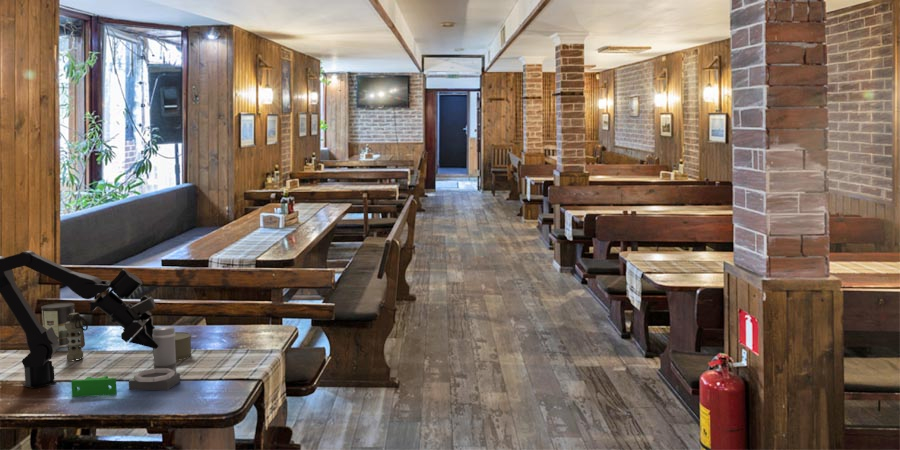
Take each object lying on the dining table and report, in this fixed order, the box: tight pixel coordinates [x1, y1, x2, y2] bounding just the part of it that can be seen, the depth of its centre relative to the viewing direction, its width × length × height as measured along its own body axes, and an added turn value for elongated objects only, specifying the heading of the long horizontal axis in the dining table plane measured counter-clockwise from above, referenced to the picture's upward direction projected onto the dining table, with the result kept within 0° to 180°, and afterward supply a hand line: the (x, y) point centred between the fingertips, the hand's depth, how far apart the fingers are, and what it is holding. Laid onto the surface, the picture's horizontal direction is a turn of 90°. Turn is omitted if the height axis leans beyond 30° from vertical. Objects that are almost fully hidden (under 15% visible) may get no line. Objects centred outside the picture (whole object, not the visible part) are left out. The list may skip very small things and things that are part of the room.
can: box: [152, 331, 192, 361], centre depth 236 cm, size 12×12×7 cm
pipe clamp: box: [70, 375, 118, 398], centre depth 198 cm, size 11×4×5 cm, turn 97°
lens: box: [152, 326, 177, 373], centre depth 215 cm, size 6×6×14 cm
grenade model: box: [65, 312, 90, 361], centre depth 235 cm, size 6×7×15 cm
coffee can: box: [40, 302, 76, 349], centre depth 254 cm, size 10×10×14 cm
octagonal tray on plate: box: [128, 368, 181, 391], centre depth 205 cm, size 11×10×4 cm
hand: (159, 343), depth 214 cm, fingers open, 9 cm apart
